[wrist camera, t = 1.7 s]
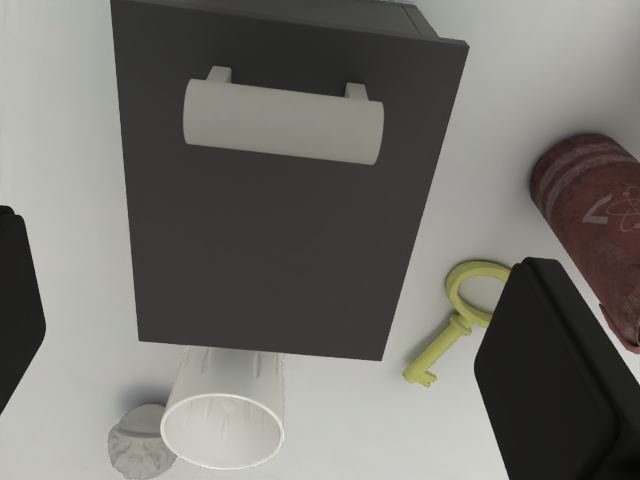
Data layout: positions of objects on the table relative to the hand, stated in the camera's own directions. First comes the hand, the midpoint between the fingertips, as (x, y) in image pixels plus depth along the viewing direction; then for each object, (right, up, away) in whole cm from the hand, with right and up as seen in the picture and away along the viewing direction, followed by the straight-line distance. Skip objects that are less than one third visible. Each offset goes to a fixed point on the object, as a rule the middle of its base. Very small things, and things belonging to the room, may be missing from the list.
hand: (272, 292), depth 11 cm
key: (+12, -5, +32) cm, 34 cm away
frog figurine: (-14, -14, +38) cm, 42 cm away
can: (+18, +5, +25) cm, 31 cm away
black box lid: (-1, +2, +14) cm, 14 cm away
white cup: (-5, -6, +32) cm, 33 cm away
